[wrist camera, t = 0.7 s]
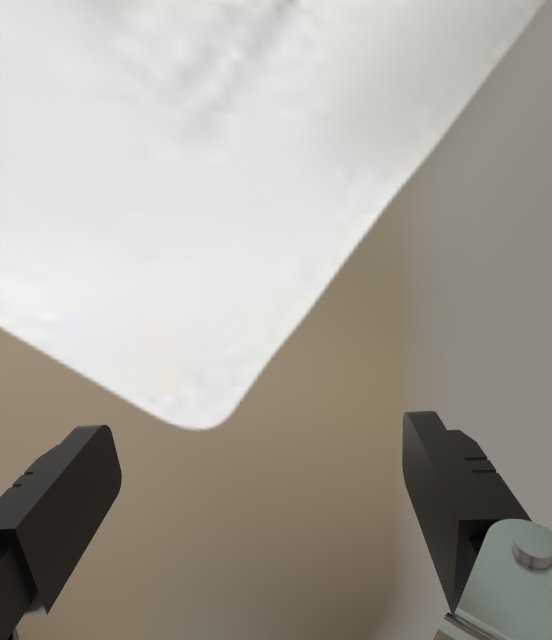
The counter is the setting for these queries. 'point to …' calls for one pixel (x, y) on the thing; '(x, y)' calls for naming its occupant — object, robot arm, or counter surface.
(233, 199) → the counter surface
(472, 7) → the counter surface
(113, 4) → the counter surface
